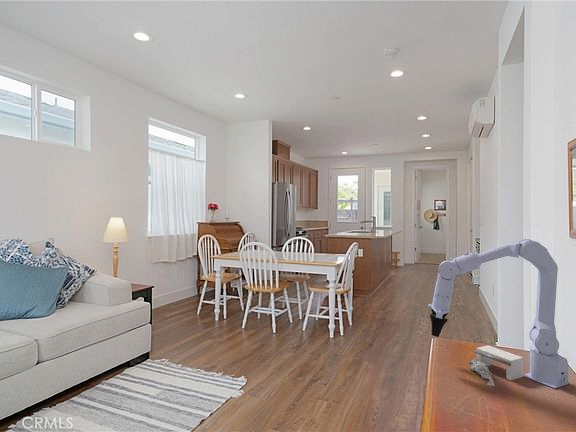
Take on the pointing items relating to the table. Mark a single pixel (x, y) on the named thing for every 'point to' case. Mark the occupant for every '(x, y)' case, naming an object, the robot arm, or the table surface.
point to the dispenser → (501, 360)
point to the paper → (481, 370)
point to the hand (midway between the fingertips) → (435, 332)
